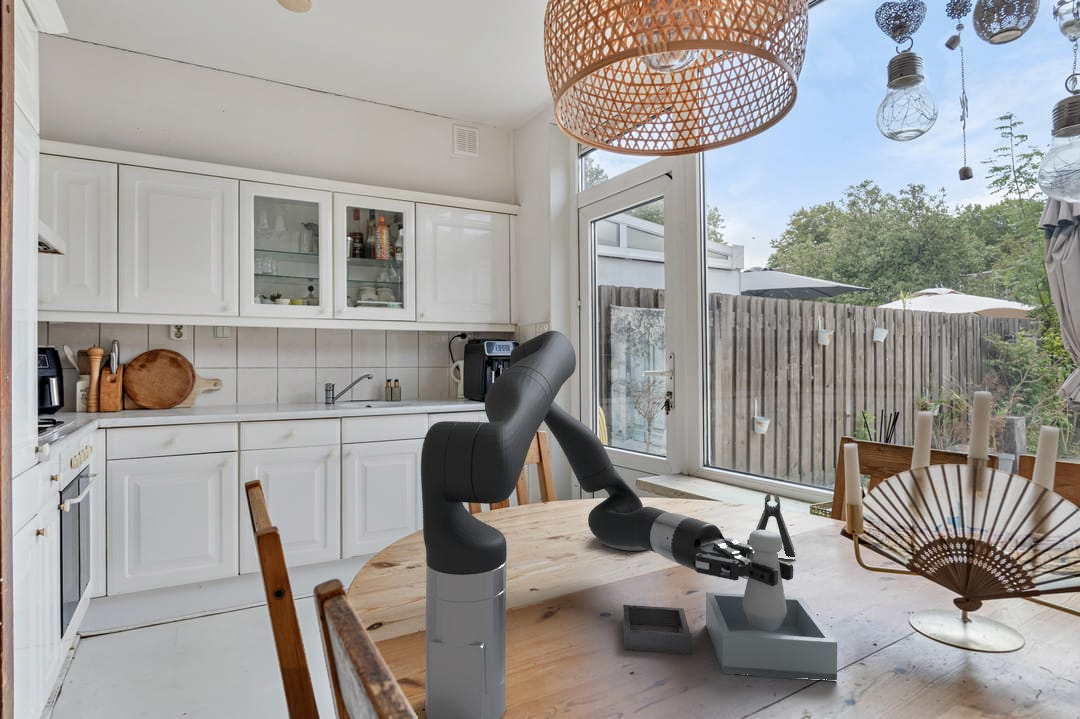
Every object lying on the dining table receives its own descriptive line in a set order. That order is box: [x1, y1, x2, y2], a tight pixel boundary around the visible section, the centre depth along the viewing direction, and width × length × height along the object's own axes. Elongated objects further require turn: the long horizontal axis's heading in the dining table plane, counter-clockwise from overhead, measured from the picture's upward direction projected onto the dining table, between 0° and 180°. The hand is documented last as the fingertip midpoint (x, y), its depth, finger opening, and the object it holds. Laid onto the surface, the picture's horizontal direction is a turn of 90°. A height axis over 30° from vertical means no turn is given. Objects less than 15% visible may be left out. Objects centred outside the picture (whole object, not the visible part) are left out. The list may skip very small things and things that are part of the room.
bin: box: [705, 591, 838, 681], centre depth 81 cm, size 14×14×5 cm
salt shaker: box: [742, 529, 787, 631], centre depth 82 cm, size 6×6×13 cm
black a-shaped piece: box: [755, 492, 796, 557], centre depth 123 cm, size 9×6×12 cm, turn 68°
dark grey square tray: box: [622, 604, 692, 655], centre depth 85 cm, size 9×9×2 cm
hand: (783, 575), depth 79 cm, fingers closed on salt shaker, 3 cm apart
